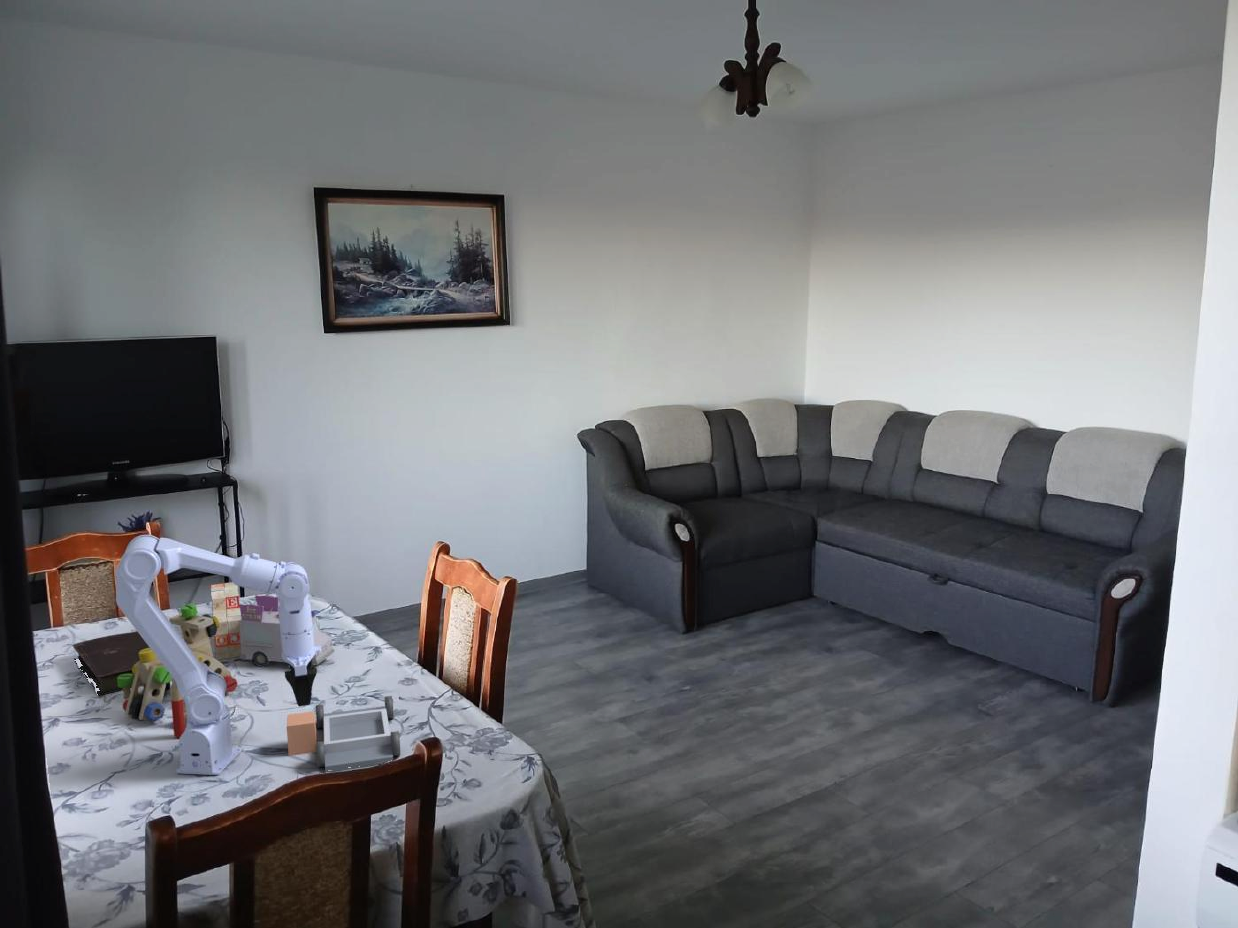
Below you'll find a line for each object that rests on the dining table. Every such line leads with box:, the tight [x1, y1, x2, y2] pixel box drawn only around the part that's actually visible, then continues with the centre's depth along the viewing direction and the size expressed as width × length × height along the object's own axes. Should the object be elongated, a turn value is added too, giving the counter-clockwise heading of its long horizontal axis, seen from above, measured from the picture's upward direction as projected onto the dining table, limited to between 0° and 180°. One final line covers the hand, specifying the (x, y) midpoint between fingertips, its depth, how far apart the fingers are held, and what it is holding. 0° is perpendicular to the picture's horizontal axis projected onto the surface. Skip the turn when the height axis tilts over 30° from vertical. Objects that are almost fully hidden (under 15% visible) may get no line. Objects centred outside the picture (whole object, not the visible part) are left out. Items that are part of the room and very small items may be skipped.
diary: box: [72, 630, 150, 697], centre depth 215 cm, size 19×25×5 cm
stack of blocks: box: [210, 581, 242, 661], centre depth 230 cm, size 21×6×12 cm, turn 24°
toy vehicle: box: [239, 594, 335, 669], centre depth 217 cm, size 9×20×15 cm, turn 78°
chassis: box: [315, 695, 401, 773], centre depth 182 cm, size 22×15×4 cm
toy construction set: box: [117, 603, 238, 739], centre depth 193 cm, size 27×22×21 cm
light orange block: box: [286, 710, 318, 757], centre depth 178 cm, size 5×5×6 cm
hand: (303, 696), depth 178 cm, fingers open, 7 cm apart
